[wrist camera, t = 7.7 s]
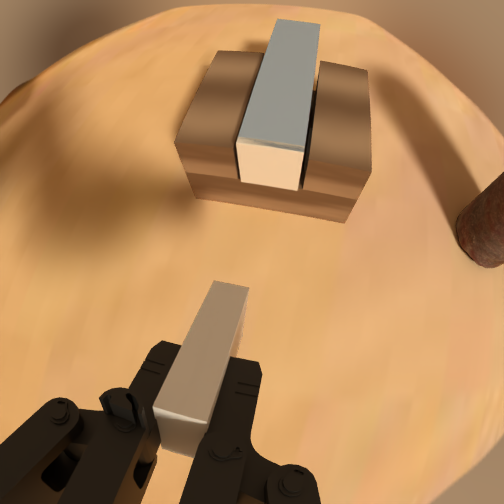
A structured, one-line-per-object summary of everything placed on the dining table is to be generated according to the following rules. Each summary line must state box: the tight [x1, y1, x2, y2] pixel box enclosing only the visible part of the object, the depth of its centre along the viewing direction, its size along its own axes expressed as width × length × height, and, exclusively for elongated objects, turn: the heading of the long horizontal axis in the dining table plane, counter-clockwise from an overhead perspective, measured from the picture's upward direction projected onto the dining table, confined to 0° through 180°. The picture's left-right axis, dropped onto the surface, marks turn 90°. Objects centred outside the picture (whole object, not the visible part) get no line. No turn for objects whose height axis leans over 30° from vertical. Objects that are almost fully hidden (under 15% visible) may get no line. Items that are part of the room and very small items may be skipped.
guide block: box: [174, 51, 372, 223], centre depth 26 cm, size 12×14×8 cm
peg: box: [236, 19, 320, 191], centre depth 24 cm, size 18×4×5 cm, turn 168°
